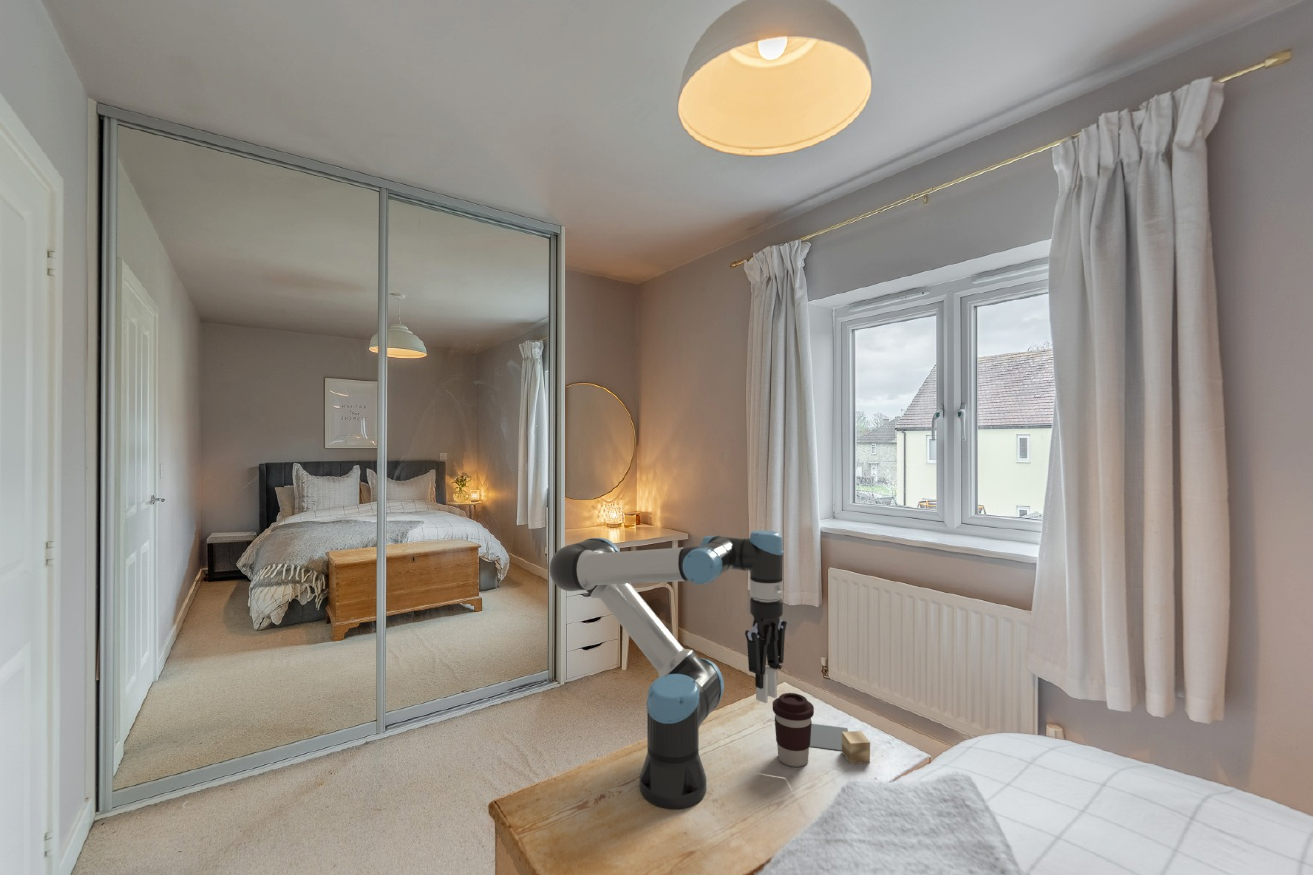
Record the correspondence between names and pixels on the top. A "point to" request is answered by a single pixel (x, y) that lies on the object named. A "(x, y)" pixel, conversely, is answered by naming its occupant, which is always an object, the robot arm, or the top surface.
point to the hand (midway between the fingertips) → (766, 697)
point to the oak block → (856, 747)
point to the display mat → (827, 737)
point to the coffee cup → (793, 728)
